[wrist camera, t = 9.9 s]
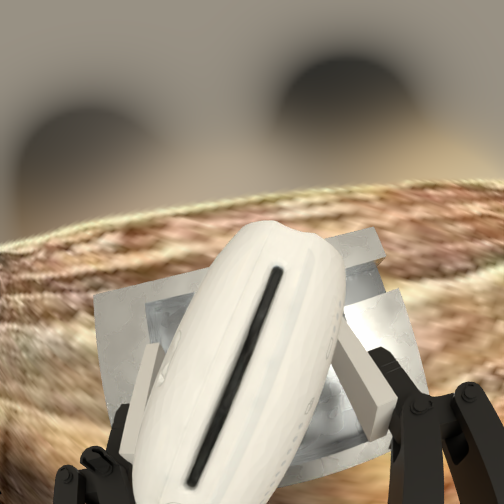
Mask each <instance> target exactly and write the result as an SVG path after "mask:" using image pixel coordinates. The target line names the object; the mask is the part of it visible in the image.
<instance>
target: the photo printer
mask: <svg viewBox="0 0 504 504" xmlns="http://www.w3.org/2000/svg"><path fill="white" fill-rule="evenodd" d="M345 294H346V274H345V264H344V261H343V259H342V256H341V255H340V254H339V252H338V251H337V250H336V249H335V248H334V247H333V246H332V245H331V244H330V243H328V242H327V241H326V240H324V239H323V238H321V237H320V236H318V235H317V234H315V233H307V232H301V231H297V230H294V229H291V228H288V227H286V226H284V225H282V224H280V223H279V222H277V221H258V222H253V223H250V224H247V225H245V226H244V227H242V228H241V229H240V230H239V232H238V233H237V234H236V235H235V236H234V237H233V238H232V239H231V240H230V241H229V243H228V244H227V245H226V246H225V248H224V249H223V250H222V251H221V252H220V253H219V254H218V256H217V257H216V259H215V260H214V262H213V263H212V265H211V266H210V268H209V269H208V271H207V273H206V275H205V276H204V278H203V280H202V281H201V283H200V285H199V287H198V289H197V291H196V292H195V294H194V296H193V298H192V300H191V302H190V304H189V306H188V308H187V310H186V312H185V314H184V316H183V318H182V320H181V322H180V324H179V326H178V328H177V330H176V333H175V335H174V337H173V339H172V342H171V344H170V346H169V348H168V351H167V353H166V355H165V358H164V360H163V363H162V365H161V367H160V370H159V372H158V375H157V377H156V380H155V382H154V385H153V388H152V391H151V394H150V396H149V399H148V401H147V405H146V407H145V411H144V414H143V418H142V421H141V424H140V428H139V432H138V436H137V440H136V444H135V455H134V460H133V469H132V483H133V493H134V498H135V502H136V504H266V503H267V502H268V500H269V499H270V497H271V496H272V494H273V493H274V491H275V490H276V488H277V486H278V485H279V483H280V481H281V480H282V478H283V476H284V475H285V473H286V471H287V469H288V468H289V466H290V464H291V462H292V460H293V458H294V456H295V454H296V452H297V450H298V448H299V446H300V444H301V441H302V439H303V437H304V435H305V432H306V430H307V428H308V426H309V423H310V421H311V418H312V416H313V413H314V411H315V408H316V406H317V403H318V400H319V398H320V395H321V392H322V389H323V386H324V383H325V380H326V377H327V374H328V371H329V368H330V365H331V361H332V357H333V354H334V350H335V347H336V343H337V339H338V335H339V330H340V326H341V321H342V316H343V310H344V303H345Z"/></svg>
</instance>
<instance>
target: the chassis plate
mask: <svg viewBox="0 0 504 504" xmlns="http://www.w3.org/2000/svg"><path fill="white" fill-rule="evenodd" d="M324 240H326V241H327V242H328V243H330V244H331V245H332V246H333V247H334V248H335V249H336V250H337V251H338V252H339V254H340V255H341V256H342V259H343V261H344V264H345V274H346V294H345V303H344V310H343V317H344V319H345V320H346V322H347V323H348V325H349V326H350V327H351V329H352V330H353V332H354V333H355V335H356V336H357V338H358V339H359V340H360V342H361V343H362V345H363V346H364V348H365V349H366V351H370V350H372V349H375V348H378V347H380V346H381V347H383V348H385V349H387V350H388V351H390V352H391V353H392V355H393V356H394V357H395V359H396V361H398V362H399V364H400V365H401V368H403V369H404V370H405V372H406V373H407V374H408V376H409V377H410V379H411V380H412V381H413V383H414V384H415V385H416V387H417V388H418V389H419V390H420V391H421V392H422V393H425V394H427V395H429V392H428V387H427V383H426V378H425V374H424V370H423V366H422V362H421V358H420V354H419V351H418V347H417V343H416V340H415V336H414V333H413V330H412V326H411V323H410V320H409V317H408V314H407V311H406V308H405V305H404V302H403V299H402V296H401V293H400V291H399V288H398V289H395V290H392V291H389V292H387V293H386V291H385V288H384V285H383V283H382V280H381V277H380V275H379V272H378V269H377V266H378V265H379V264H380V263H381V262H382V261H383V260H384V259H385V257H386V254H385V252H384V249H383V247H382V245H381V242H380V240H379V238H378V235H377V233H376V231H375V229H374V227H370V228H366V229H362V230H358V231H354V232H350V233H346V234H342V235H338V236H334V237H330V238H326V239H324ZM209 268H210V267H208V268H204V269H200V270H196V271H192V272H188V273H184V274H179V275H175V276H171V277H167V278H163V279H159V280H155V281H150V282H146V283H142V284H138V285H134V286H129V287H125V288H121V289H117V290H113V291H108V292H104V293H100V294H96V295H93V296H94V316H95V329H96V339H97V349H98V357H99V364H100V371H101V378H102V384H103V389H104V395H105V400H106V405H107V410H108V414H109V419H110V423H111V427H112V424H113V423H114V417H115V413H116V411H117V410H118V408H119V407H120V405H121V404H127V403H130V402H131V398H132V394H133V390H134V386H135V383H136V379H137V375H138V372H139V368H140V365H141V361H142V358H143V354H144V351H145V348H146V344H152V343H158V342H160V344H161V346H162V348H163V350H164V352H165V354H166V353H167V351H168V348H169V346H170V344H171V342H172V339H173V337H174V335H175V333H176V330H177V328H178V326H179V324H180V322H181V320H182V318H183V316H184V314H185V312H186V310H187V308H188V306H189V304H190V302H191V300H192V298H193V296H194V294H195V292H196V291H197V289H198V287H199V285H200V283H201V281H202V280H203V278H204V276H205V275H206V273H207V271H208V269H209ZM391 439H392V434H391V432H390V431H389V429H388V432H387V435H386V436H384V437H382V438H379V439H377V440H375V441H372V442H370V443H369V441H368V439H367V437H366V435H365V433H364V430H363V428H362V426H361V424H360V422H359V420H358V418H357V416H356V414H355V412H354V410H353V408H352V406H351V404H350V402H349V400H348V398H347V395H346V393H345V391H344V389H343V387H342V385H341V383H340V381H339V379H338V377H337V375H336V373H335V371H334V369H333V367H332V365H330V368H329V371H328V374H327V377H326V380H325V383H324V386H323V389H322V392H321V395H320V398H319V400H318V403H317V406H316V408H315V411H314V413H313V416H312V418H311V421H310V423H309V426H308V428H307V430H306V432H305V435H304V437H303V439H302V441H301V444H300V446H299V448H298V450H297V452H296V454H295V456H294V458H293V460H292V462H291V464H290V466H289V468H288V469H287V471H286V473H285V475H284V476H283V478H282V480H281V481H280V483H279V485H278V486H277V488H279V487H284V486H289V485H293V484H297V483H301V482H305V481H309V480H313V479H316V478H320V477H323V476H326V475H330V474H333V473H336V472H339V471H342V470H345V469H348V468H350V467H353V466H356V465H358V464H361V463H364V462H366V461H369V460H371V459H373V458H376V457H378V456H380V455H383V454H385V453H387V452H389V451H391V449H388V448H389V444H390V441H391Z"/></svg>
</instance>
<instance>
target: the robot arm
mask: <svg viewBox="0 0 504 504" xmlns="http://www.w3.org/2000/svg"><path fill="white" fill-rule="evenodd" d="M165 355H166V354H165V352H164V350H163V348H162V346H161V344H160V342H158V343H152V344H146V348H145V351H144V354H143V358H142V361H141V365H140V368H139V372H138V375H137V379H136V383H135V386H134V390H133V394H132V398H131V402H130V403H127V404H121V405H120V407H119V408H118V410H117V411H116V413H115V417H114V423H113V424H112V430H111V432H110V436H109V440H108V444H107V448H106V451H105V450H104V449H103V448H102V447H99V446H91V447H89V448H87V449H86V450H85V451H84V452H83V453H82V455H81V457H80V463H81V464H82V465H83V466H85V467H86V468H87V469H82V470H77V469H76V468H75V467H73V466H72V465H64V466H62V467H61V468H59V470H58V471H57V474H56V478H55V487H54V498H53V504H85V503H86V504H136V502H135V498H134V493H133V483H132V469H133V460H134V455H135V444H136V440H137V436H138V432H139V428H140V424H141V421H142V418H143V414H144V411H145V407H146V405H147V401H148V399H149V396H150V394H151V391H152V388H153V385H154V382H155V380H156V377H157V375H158V372H159V370H160V367H161V365H162V363H163V360H164V358H165ZM331 365H332V367H333V369H334V371H335V373H336V375H337V377H338V379H339V381H340V383H341V385H342V387H343V389H344V391H345V393H346V395H347V398H348V400H349V402H350V404H351V406H352V408H353V410H354V412H355V414H356V416H357V418H358V420H359V422H360V424H361V426H362V428H363V430H364V433H365V435H366V437H367V439H368V441H369V443H370V442H372V441H375V440H377V439H379V438H382V437H384V436H386V435H387V432H388V429H389V431H390V432H391V434H392V439H391V441H390V444H389V448H388V449H391V467H390V484H389V495H388V504H444V470H443V454H442V449H443V452H444V455H445V457H446V460H447V463H448V466H449V469H450V472H451V475H452V478H453V481H454V484H455V487H456V491H457V494H458V497H459V501H460V504H504V426H503V424H502V423H501V421H500V419H499V417H498V415H497V413H496V411H495V410H494V408H493V406H492V404H491V402H490V401H489V399H488V397H487V396H486V394H485V392H484V391H483V389H482V388H481V387H480V385H479V384H476V383H474V382H465V383H462V384H461V385H459V386H458V387H457V389H456V390H455V393H451V394H447V395H443V396H438V397H432V396H430V395H427V394H425V393H422V392H421V391H420V390H419V389H418V388H417V387H416V385H415V384H414V383H413V381H412V380H411V379H410V377H409V376H408V374H407V373H406V372H405V370H404V369H403V368H401V365H400V364H399V362H398V361H396V359H395V357H394V356H393V355H392V353H391V352H390V351H388V350H387V349H385V348H383V347H381V346H380V347H378V348H375V349H372V350H370V351H366V349H365V348H364V346H363V345H362V343H361V342H360V340H359V339H358V338H357V336H356V335H355V333H354V332H353V330H352V329H351V327H350V326H349V325H348V323H347V322H346V320H345V319H344V317H343V316H342V321H341V326H340V330H339V335H338V339H337V343H336V347H335V350H334V354H333V357H332V361H331Z"/></svg>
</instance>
